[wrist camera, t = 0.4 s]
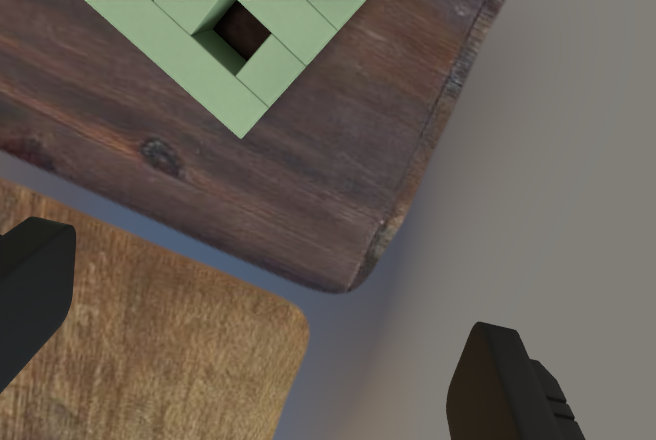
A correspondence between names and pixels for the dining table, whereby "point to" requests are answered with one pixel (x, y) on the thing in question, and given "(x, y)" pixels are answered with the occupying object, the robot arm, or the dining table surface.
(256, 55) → the rack
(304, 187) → the dining table surface
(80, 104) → the dining table surface
